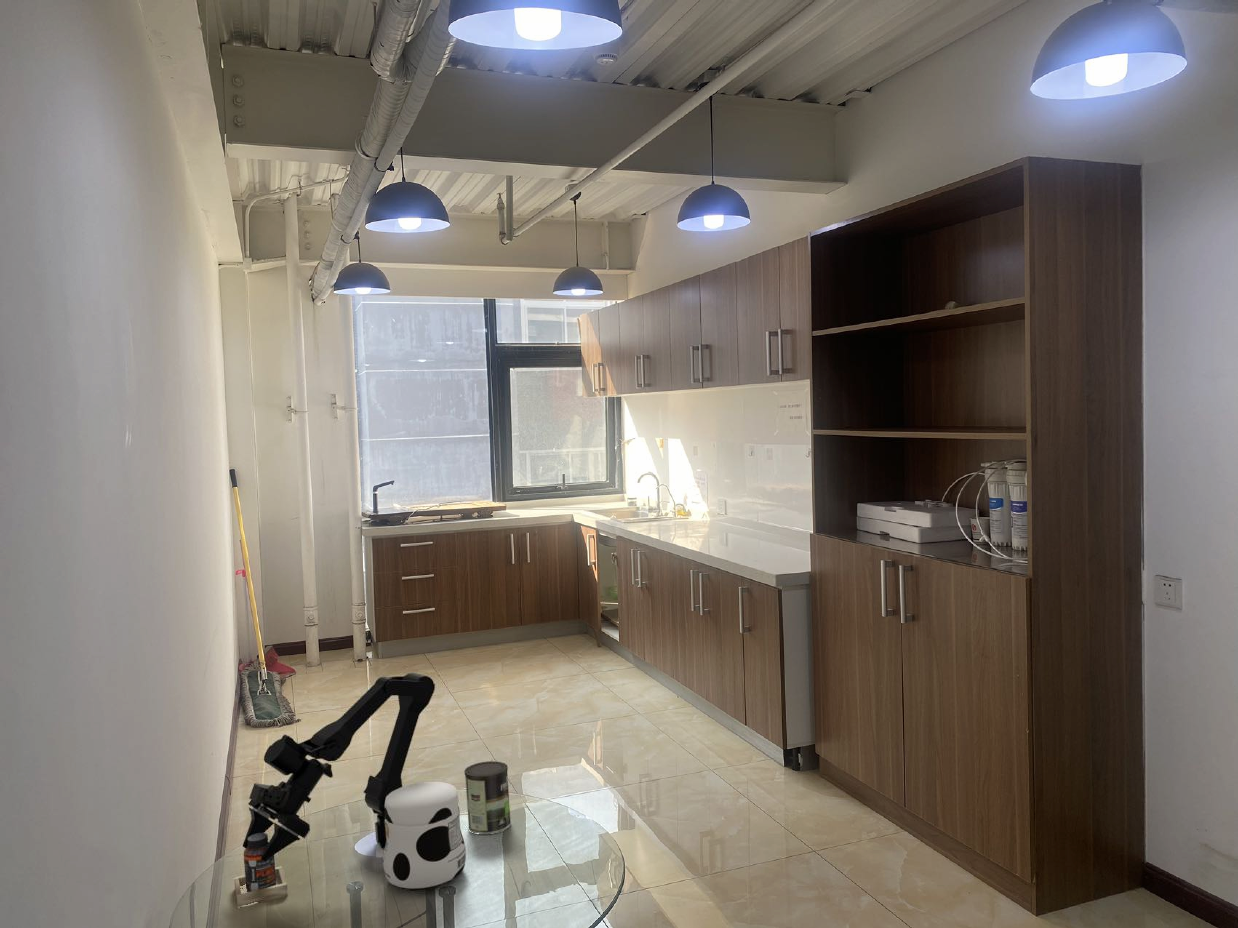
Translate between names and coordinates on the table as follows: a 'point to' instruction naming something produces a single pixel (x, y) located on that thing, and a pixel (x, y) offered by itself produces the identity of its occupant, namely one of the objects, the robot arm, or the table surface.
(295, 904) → the table surface
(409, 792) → the milk container
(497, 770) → the coffee can
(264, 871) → the supplement bottle
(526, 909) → the table surface
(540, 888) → the table surface
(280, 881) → the tray
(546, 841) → the table surface
